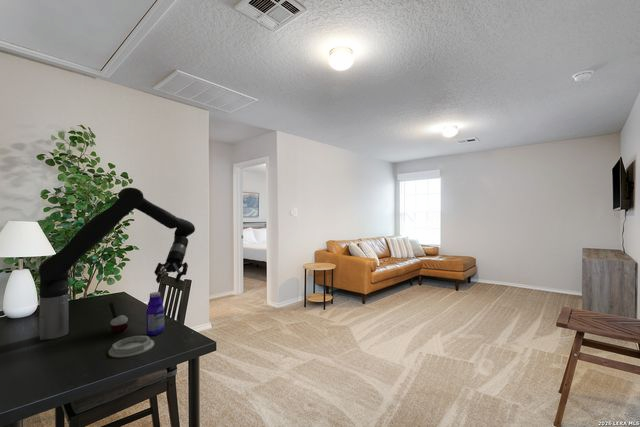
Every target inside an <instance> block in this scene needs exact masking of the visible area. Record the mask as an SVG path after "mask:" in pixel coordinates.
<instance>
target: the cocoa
mask: <svg viewBox="0 0 640 427" xmlns="http://www.w3.org/2000/svg"><path fill="white" fill-rule="evenodd" d="M108 304H109V305H108V306H109V308H110V312H111V315H112V319H111V321H110V329H111V331H112V332H113V333H115V334H117V333H122V332H124V331H125V330H127V329H128V319H129V318H128V316H126V315H123V314H121V315H119V316H117V313H116V309H115V305H114V302H109V303H108Z"/></svg>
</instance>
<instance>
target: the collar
mask: <svg viewBox="0 0 640 427" xmlns="http://www.w3.org/2000/svg"><path fill="white" fill-rule="evenodd" d="M154 346H155V341H154V340H153V339H151V338H150V336H148V335H133V336H129V337H128V336H127V337H124V338H122V339H120V340H117V341H116V342H114V343H113V344H112V346H111V347H110V349H108V351H107V352H108V353H107V354H108V356H110V357H112V358H127V357H134V356H138V355H141V354H143V353H146V352H148V351H150V350H151V349H153V347H154Z"/></svg>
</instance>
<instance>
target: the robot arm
mask: <svg viewBox="0 0 640 427" xmlns="http://www.w3.org/2000/svg"><path fill="white" fill-rule="evenodd" d="M134 210H138V211H139V212H142V213H143V214H145V215H146V216H148V217H150V218H151V219H153V220H154V221H157V223H159V224H161V225H163V226H164V227H166V228H168V229H169V230H172V229H175V231H174V232H173V233H174V235H173V236H174V237H173V242H172V245H171V247H170V249H169V252H168V255H167V257H166V258H165V259H166V260H165V262H164V263H162V262H158V263H157V265H156V267H155V269H154V275H155V276H156V279H155V281H156V283H157V284H160V283H161V280H162V277H163V276H164V275H166V274H168V273H176V276H175V280H174V282H175V283H176V284H177V283H179V282H180V281H181V279H182V276H186V275H187V272H188V268H189V265H188V263H187V262H186V261H185V262H184V259H185V256H186V253H187V249H188V248H187V247H188V245H189V239H188V238H187V237H189V236H190V235H192V234H194V233H195V232H196V228H195V224H193V223H192V222H191V221H189V220H186V219H183V218H180V217H178V216H176V215H174V214H172V213H171V212H170V211H167V210H166V209H164V208H162V207H160V206H158V205H156V204H154V203H152V202H151V201H149V200H148V199H146V198H145V197H144V194H143V191H142V190H141V189H138V188H136V187H125V188H122V189H121V190H120V191H119V193H118V199H116V201H114V203H112V204H111V205H110V206H109V207H108V208H106V209H104V210H103V211H102V212H100V213H98V214H97V215H95V216H93V217H92V218H91V219H90V220H88V221H87V222H86V223H85V224H84V225H83V226H81V228H80V229H79V230H78V231H77V232H76V233H75V234H74V235H73V236H72V238H71V239H70V240H69V241H68V243H67V244H66V245H65V246H64V247H63V248H61V249H60V250H59V251H57V253H55V254H54V255H52V256H51V257H48V258H47V259H46V258H45V260H44V261H43V262H41V263H40V265H39V269H38V275H39V279H40V280H39V341H45V340H53V339H58V338H61V337H64V336H66V335H68V334H69V271H70V270H71V268H72V267H73V266H74V265H75V264H76V263H77V262H78V261H79V260H80V259H81V258H82V257H83V256H84V255H85V254H86V253H88V252H89V251H91V249H93V248H94V247H95V246H96V245H98V244H99V243H100V242H101V241H102V240H103V239H104V238H106V236H108V234H109V233H110V232H111V231H112V230H113V229H114V228H115V227H116V226H117V225H118V224H119V223H120V222H121V221H122V220H123V219H124V218H125V217H126V216H127V215H128V214H130V213H131V212H132V211H134ZM183 262H184V263H183ZM181 268H182V270H180V269H181Z"/></svg>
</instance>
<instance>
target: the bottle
mask: <svg viewBox="0 0 640 427" xmlns="http://www.w3.org/2000/svg"><path fill="white" fill-rule="evenodd" d="M163 303H164V302H163V300H162V297H161V292H160V291H155V292H150V293H149V299H148V303H147V309H146V312H145V315H146V318H145V319H146V322H145V323H146V326H145V327H146V334H147V336H148V335H149V336H156V335H159V334H160V333H162V332H164V330H165V308H164V307H165V306H164V305H163Z"/></svg>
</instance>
